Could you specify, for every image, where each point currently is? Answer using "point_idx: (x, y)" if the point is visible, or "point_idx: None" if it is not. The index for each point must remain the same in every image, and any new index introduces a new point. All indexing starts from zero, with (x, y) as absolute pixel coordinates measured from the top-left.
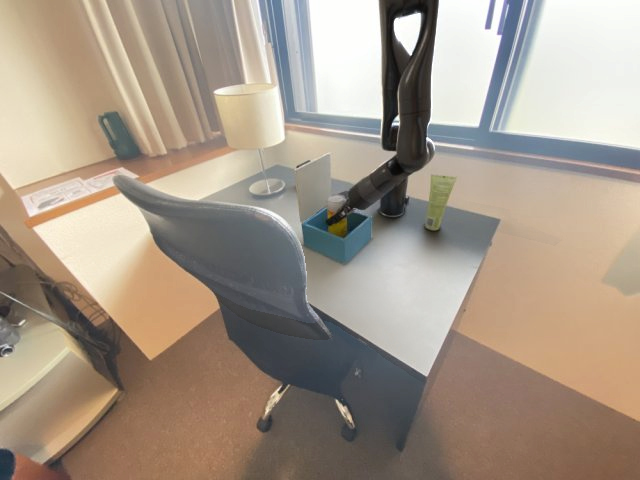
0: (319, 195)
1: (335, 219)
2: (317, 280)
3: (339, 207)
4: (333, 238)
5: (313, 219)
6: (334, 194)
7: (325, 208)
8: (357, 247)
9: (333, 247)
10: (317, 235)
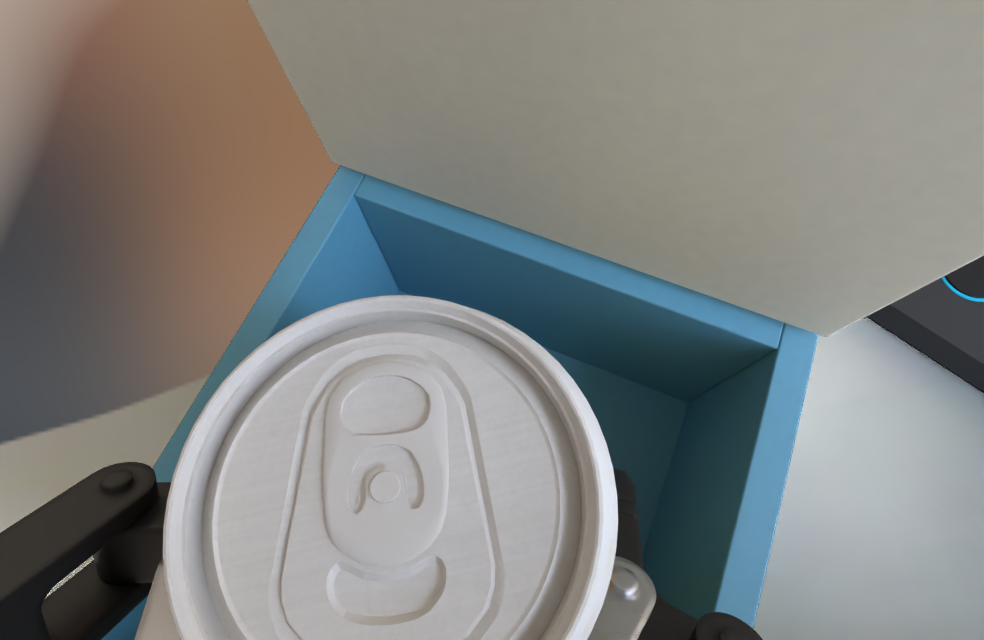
0: (654, 135)
1: (94, 559)
2: (47, 465)
3: (140, 632)
4: None
5: (464, 244)
6: (566, 400)
7: (680, 302)
8: None
9: None
10: None
